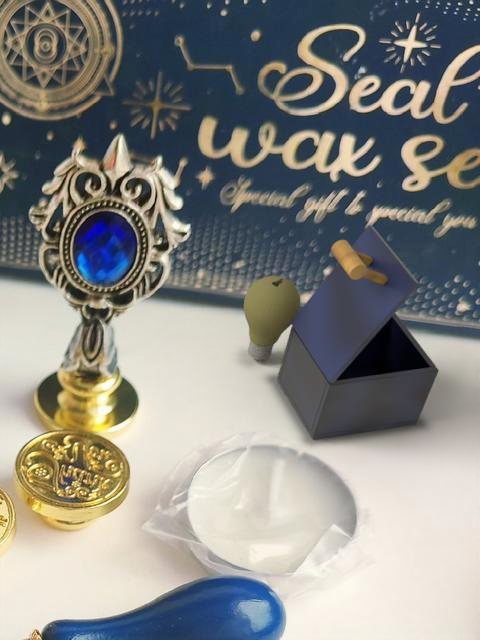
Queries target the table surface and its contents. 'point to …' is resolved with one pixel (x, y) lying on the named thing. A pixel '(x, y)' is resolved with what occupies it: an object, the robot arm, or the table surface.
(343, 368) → the lid
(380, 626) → the table surface
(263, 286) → the light bulb
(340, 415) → the box
